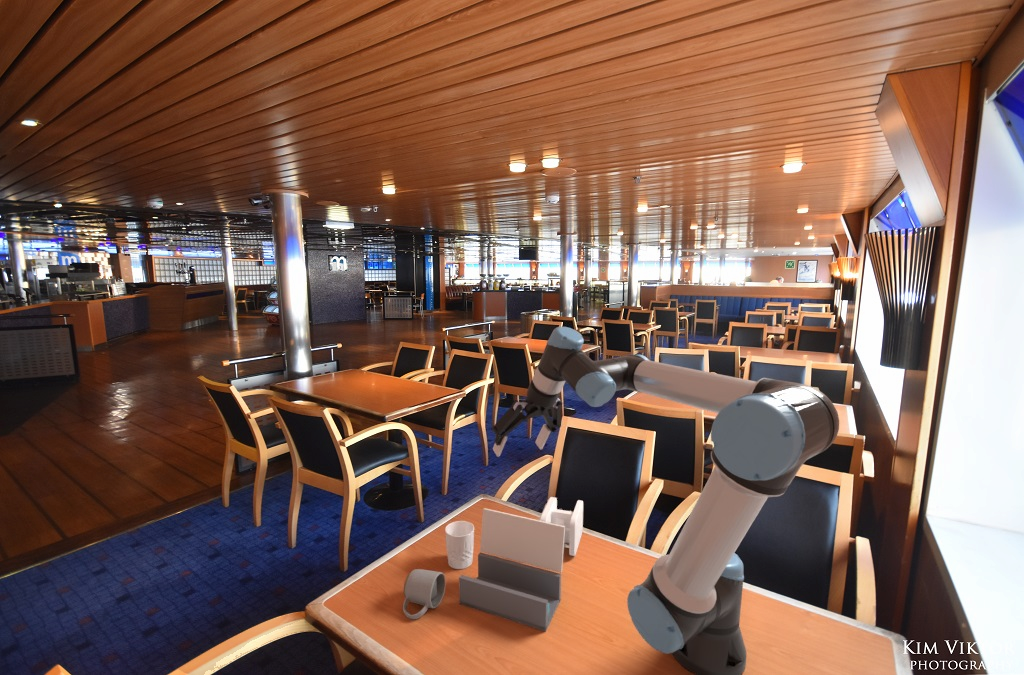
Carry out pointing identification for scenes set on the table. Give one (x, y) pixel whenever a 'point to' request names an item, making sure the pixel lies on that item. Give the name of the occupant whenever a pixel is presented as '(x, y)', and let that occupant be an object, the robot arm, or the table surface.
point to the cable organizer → (566, 522)
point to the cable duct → (512, 591)
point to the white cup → (459, 544)
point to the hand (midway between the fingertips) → (518, 449)
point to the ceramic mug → (423, 590)
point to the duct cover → (523, 539)
